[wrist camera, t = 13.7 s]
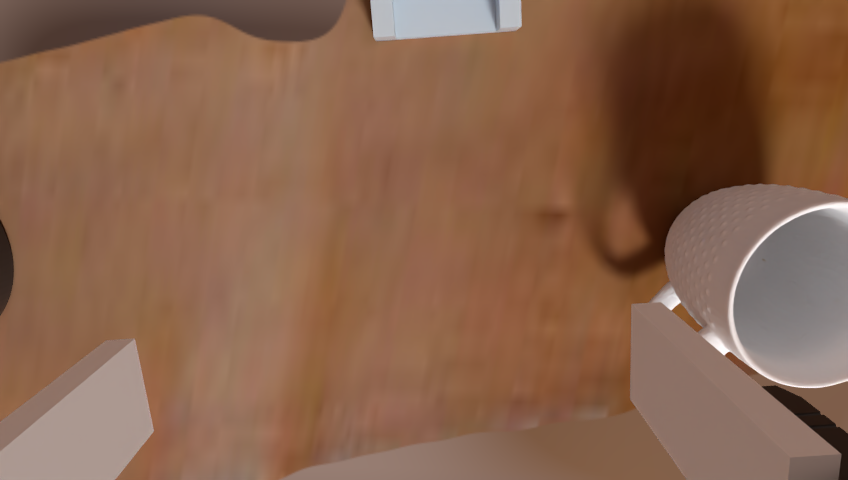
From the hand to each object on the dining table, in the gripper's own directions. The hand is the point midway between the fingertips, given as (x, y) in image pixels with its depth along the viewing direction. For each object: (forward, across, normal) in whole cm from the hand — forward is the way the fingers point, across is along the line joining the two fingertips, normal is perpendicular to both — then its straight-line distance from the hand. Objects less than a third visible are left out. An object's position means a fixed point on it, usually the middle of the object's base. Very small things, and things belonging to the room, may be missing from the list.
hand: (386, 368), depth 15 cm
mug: (+29, +22, -6) cm, 37 cm away
